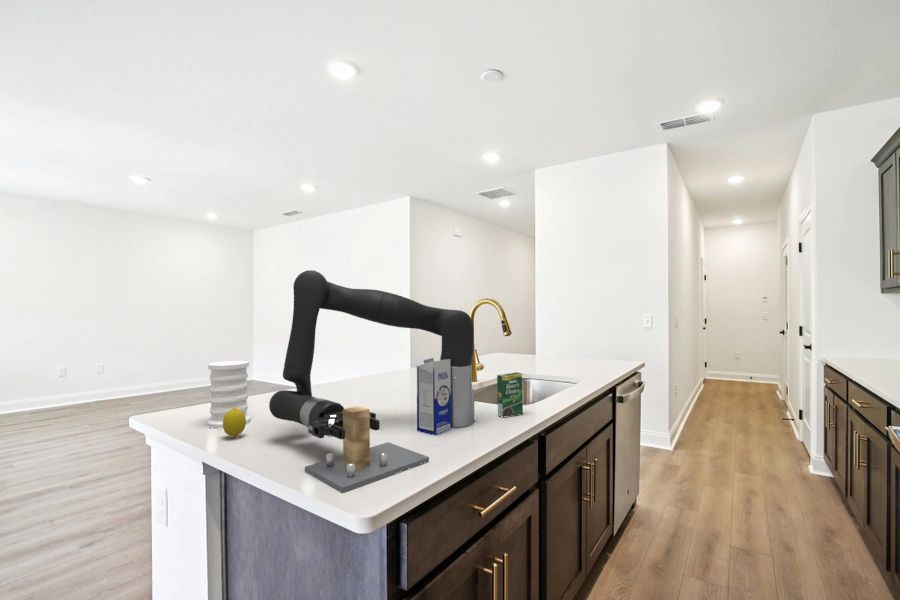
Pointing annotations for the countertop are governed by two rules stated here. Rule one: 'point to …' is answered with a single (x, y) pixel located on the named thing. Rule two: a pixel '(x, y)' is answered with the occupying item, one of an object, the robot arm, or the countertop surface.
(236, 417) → the lemon
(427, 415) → the milk carton
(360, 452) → the oak block
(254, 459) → the countertop surface
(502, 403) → the coffee box
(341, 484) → the plate
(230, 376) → the decorative container
